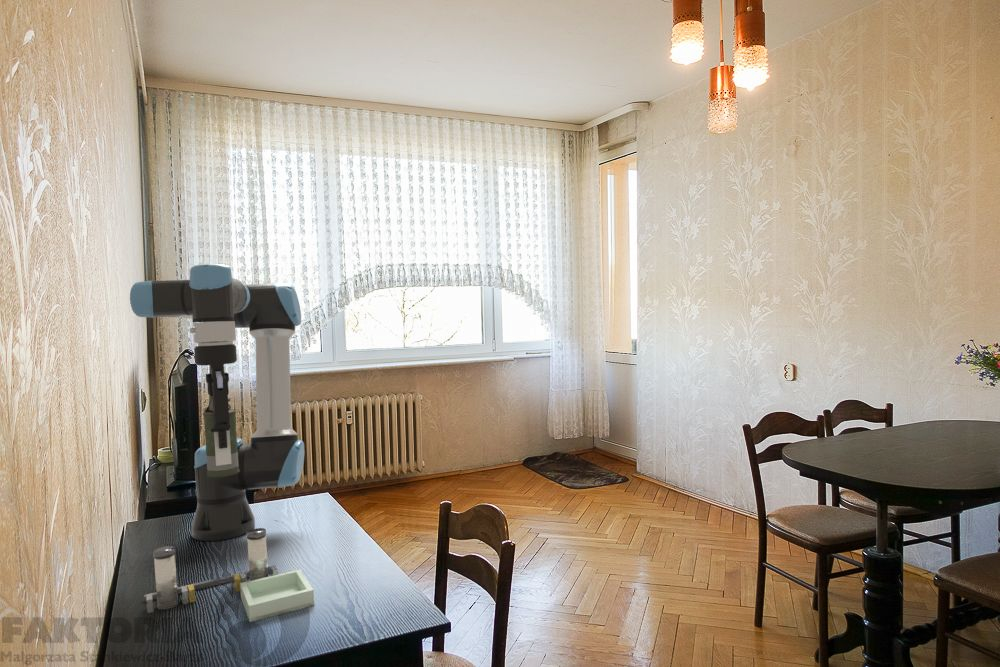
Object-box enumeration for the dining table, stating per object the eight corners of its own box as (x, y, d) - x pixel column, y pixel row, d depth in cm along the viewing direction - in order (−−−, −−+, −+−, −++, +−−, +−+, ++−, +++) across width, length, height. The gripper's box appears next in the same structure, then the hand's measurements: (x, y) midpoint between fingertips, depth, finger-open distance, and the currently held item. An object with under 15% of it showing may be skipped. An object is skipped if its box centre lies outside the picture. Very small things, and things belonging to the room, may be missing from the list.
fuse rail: (144, 599, 129) (140, 545, 129) (274, 569, 142) (271, 520, 141) (144, 614, 123) (140, 557, 122) (281, 581, 135) (278, 529, 135)
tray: (241, 598, 128) (240, 583, 128) (300, 583, 134) (300, 569, 134) (249, 622, 118) (248, 606, 118) (314, 605, 124) (313, 589, 124)
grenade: (246, 471, 128) (241, 395, 128) (219, 478, 123) (214, 400, 123) (226, 468, 132) (221, 394, 131) (199, 475, 127) (194, 399, 126)
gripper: (192, 344, 133) (199, 455, 134) (196, 346, 117) (204, 474, 117) (231, 341, 137) (237, 450, 138) (240, 343, 120) (248, 467, 121)
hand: (222, 460), depth 128 cm, fingers closed on grenade, 6 cm apart
